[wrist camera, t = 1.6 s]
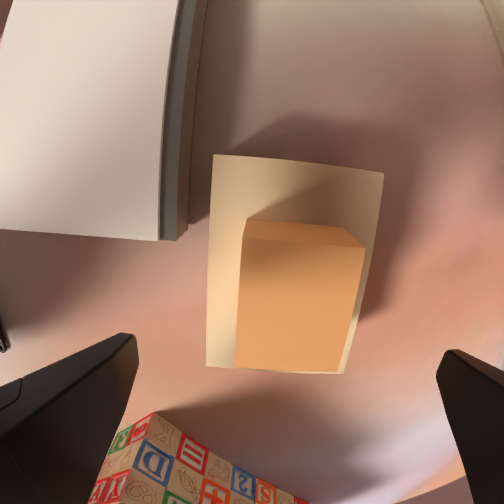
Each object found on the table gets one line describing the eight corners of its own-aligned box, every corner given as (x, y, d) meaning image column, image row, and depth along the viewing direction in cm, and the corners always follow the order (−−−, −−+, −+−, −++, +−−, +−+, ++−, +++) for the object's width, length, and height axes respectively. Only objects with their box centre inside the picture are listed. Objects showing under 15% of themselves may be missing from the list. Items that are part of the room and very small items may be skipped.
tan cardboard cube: (239, 327, 14) (233, 367, 11) (246, 218, 13) (242, 237, 10) (324, 332, 14) (337, 372, 11) (343, 227, 13) (366, 248, 10)
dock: (17, 217, 17) (-11, 228, 14) (40, 2, 12) (17, -10, 9) (188, 227, 17) (174, 242, 14) (214, -34, 12) (206, -61, 9)
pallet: (216, 326, 19) (206, 365, 15) (224, 155, 16) (213, 154, 12) (329, 333, 19) (343, 373, 15) (356, 168, 16) (384, 173, 12)
